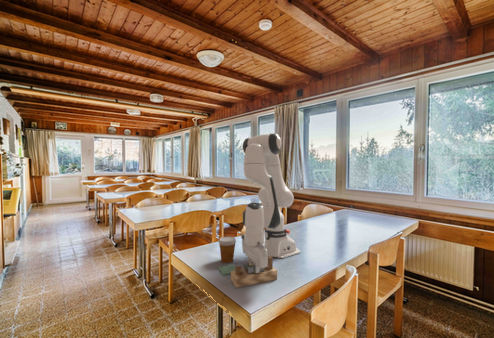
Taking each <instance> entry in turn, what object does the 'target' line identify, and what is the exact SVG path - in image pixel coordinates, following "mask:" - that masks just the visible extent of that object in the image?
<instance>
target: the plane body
mask: <svg viewBox="0 0 494 338" xmlns="http://www.w3.org/2000/svg"><path fill="white" fill-rule="evenodd" d="M273 263H274V260H273V257H271V256H268V266H267V267H265V268H264V272H259V273H254V274H247V273H246V272H245V271H244V268H243V265H236V266H235V271H231V274H230V278H229V282H230V283H231V285H232V286H233V287H234V288H235V289H236V288H240V287H241V288H242V287H247V286H251V285H255V284H256V285H257V284H259V283H265V282H270V281H274V280H278V270H277V269H276V268H275V267H274V266H273Z"/></svg>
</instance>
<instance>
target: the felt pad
mask: <svg viewBox="0 0 494 338" xmlns="http://www.w3.org/2000/svg"><path fill="white" fill-rule="evenodd" d="M235 267H236V266H235V264H229V265H223V266H218V268H217V269H218V270H219V273H221V275H222V276H227V275H231V271H235Z"/></svg>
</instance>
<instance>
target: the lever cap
mask: <svg viewBox="0 0 494 338" xmlns="http://www.w3.org/2000/svg"><path fill="white" fill-rule="evenodd" d="M243 266H244V268H243V269H244V271H245V272H246V273H247V274H254V273H256V272H255V268H256V265H255V263H254V262H251V263H249V262H246V263H244V265H243ZM260 272H264V268H260Z"/></svg>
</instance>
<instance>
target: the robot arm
mask: <svg viewBox="0 0 494 338" xmlns="http://www.w3.org/2000/svg"><path fill="white" fill-rule="evenodd" d="M282 146H283V145H282V139H281V136H280V135H279V134H277V133H265V134H264V133H263V134H259V135H255V136H251V137H247V138H245V139H244V141H243V143H242V151H243V153H244V156H243V157H244V159H243V174H244V177H245V178H246V179H247V180H248V181H250V183H253V184H255V185H258V186H261V188H260V189H259V191H258V194H257V198H258V200H259V202H260V203H259V202H250V203H248V204H246V208H245V209H244V210H243V212H242V225H244V226H245V231H244V233H242V234H241V237H240V238H241V248H242V253H243V254H244V255H245V256H246V257H247V260H248V263H251V262H254V263H255V265H256V268H255V272H256V273H259V272H260V268H265V267H267V266H268V257H269V256H271V257H272V258H273V257H274V258H278V259H284V258H288V257H292V256H294V255H295V256H296V255H298V254H299V255H300V253H301V251H300V249H299V248H298V247H297V245H296V241H295V240H294V239H293V238H292V237H290V236H289V234H290V233H291V231H290V230H289V229H286V228H285V216H284V214H283V212H282V211H281V209H280V208H290V207H291V206H292V205H293V203H294V201H295V197H294V193H293V192H292V191H291V190H290V189H289V188H288V186H287V184H286V183H285V180H284V178H283V174H282V168H281V167H282V166H281V160H280V157H279V156H280V155H279V152H281V150H282Z"/></svg>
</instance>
